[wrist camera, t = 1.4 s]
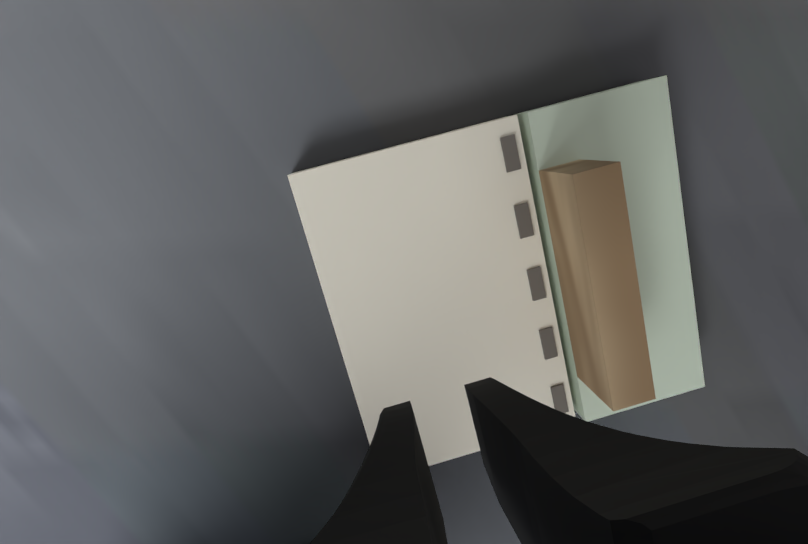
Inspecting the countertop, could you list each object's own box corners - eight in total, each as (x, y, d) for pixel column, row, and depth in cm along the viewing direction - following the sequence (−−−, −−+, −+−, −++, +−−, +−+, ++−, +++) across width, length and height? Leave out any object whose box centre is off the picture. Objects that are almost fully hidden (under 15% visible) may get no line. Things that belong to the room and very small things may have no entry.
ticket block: (377, 458, 22) (380, 482, 21) (291, 173, 19) (286, 175, 18) (561, 404, 23) (577, 423, 21) (503, 116, 20) (518, 114, 18)
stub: (569, 404, 23) (622, 462, 18) (513, 114, 20) (560, 105, 15) (681, 371, 23) (758, 421, 19) (642, 80, 20) (723, 62, 16)
